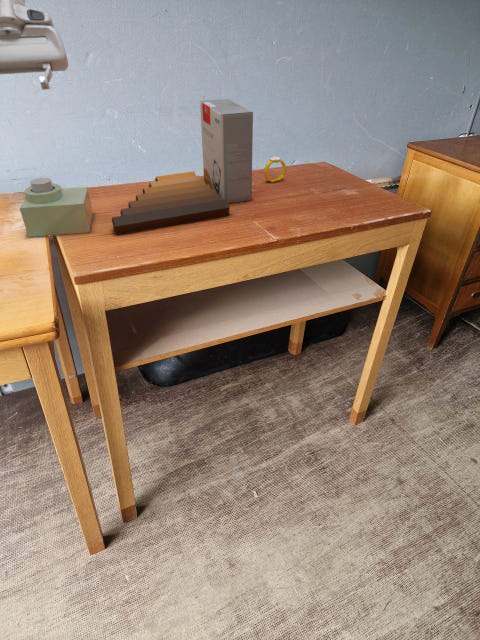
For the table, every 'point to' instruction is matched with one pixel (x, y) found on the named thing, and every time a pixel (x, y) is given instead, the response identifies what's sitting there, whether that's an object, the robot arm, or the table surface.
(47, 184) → the grey push button
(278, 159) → the yellow toy ring
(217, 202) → the pan flute
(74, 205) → the dispenser
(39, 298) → the table surface
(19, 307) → the table surface
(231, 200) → the hard drive box
